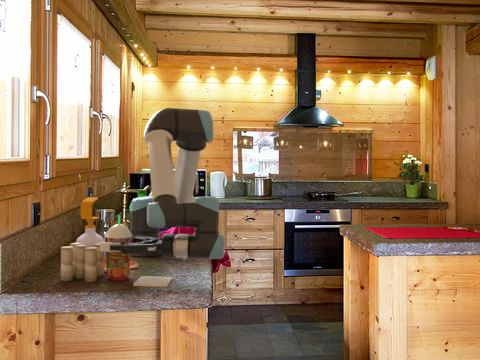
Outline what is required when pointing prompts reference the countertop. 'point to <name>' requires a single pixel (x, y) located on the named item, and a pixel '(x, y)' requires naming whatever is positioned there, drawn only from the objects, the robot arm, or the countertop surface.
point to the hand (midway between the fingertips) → (106, 243)
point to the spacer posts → (82, 262)
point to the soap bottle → (89, 224)
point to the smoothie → (115, 260)
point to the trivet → (153, 281)
